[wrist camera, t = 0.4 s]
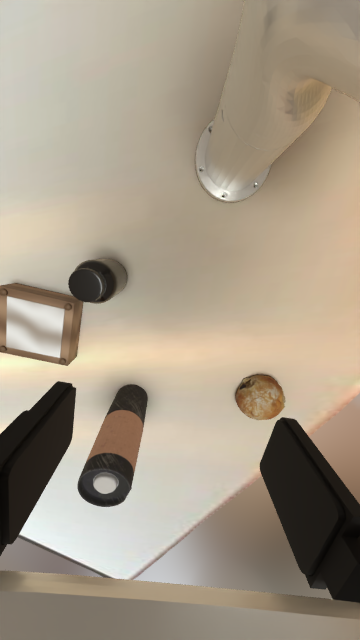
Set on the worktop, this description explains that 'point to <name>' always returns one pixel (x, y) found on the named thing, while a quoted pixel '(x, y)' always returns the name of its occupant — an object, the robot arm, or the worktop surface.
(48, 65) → the worktop surface
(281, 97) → the robot arm
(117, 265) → the supplement bottle
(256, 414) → the bread roll
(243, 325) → the worktop surface
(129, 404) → the travel mug
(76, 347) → the walnut base block
